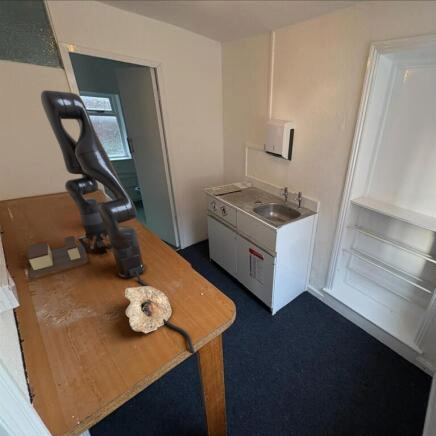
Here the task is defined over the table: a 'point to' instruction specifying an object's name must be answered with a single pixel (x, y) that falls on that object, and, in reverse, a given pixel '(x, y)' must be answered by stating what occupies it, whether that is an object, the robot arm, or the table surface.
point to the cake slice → (72, 248)
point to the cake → (40, 255)
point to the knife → (101, 247)
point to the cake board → (61, 260)
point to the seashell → (147, 308)
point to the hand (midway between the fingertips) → (103, 252)
